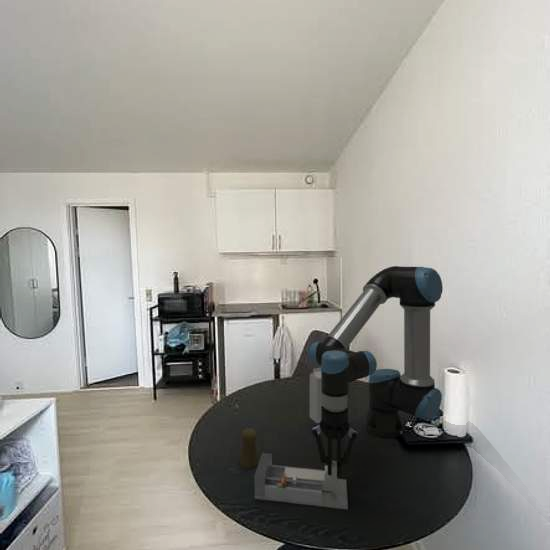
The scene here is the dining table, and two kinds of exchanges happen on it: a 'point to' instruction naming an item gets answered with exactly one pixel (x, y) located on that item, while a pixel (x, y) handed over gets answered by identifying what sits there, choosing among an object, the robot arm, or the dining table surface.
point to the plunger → (310, 476)
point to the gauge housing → (295, 487)
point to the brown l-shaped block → (283, 480)
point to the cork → (249, 449)
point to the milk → (315, 395)
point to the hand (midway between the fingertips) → (334, 485)
